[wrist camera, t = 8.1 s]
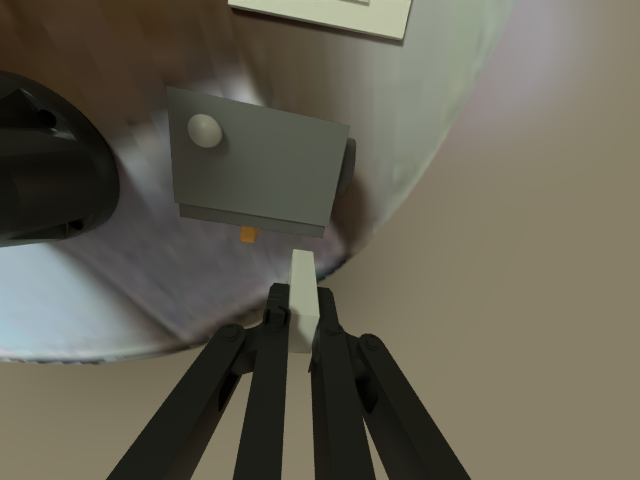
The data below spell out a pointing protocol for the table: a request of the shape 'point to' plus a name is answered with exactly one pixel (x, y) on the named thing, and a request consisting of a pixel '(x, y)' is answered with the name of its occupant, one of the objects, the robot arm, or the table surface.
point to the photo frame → (339, 13)
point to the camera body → (256, 164)
